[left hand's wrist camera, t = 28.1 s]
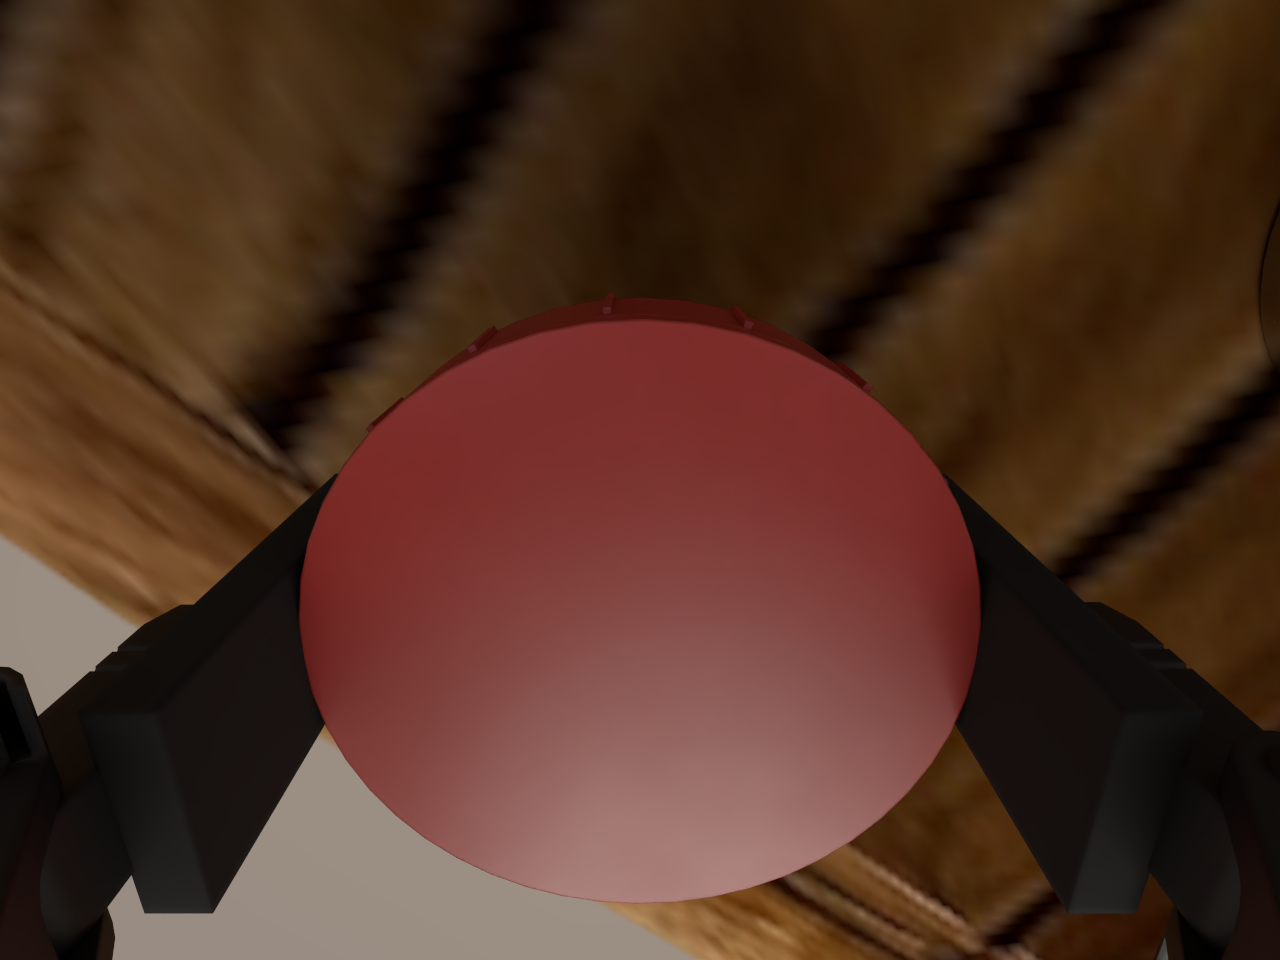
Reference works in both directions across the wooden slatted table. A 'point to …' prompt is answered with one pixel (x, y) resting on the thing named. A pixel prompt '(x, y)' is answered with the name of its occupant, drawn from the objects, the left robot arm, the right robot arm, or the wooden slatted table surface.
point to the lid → (640, 604)
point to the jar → (1272, 295)
